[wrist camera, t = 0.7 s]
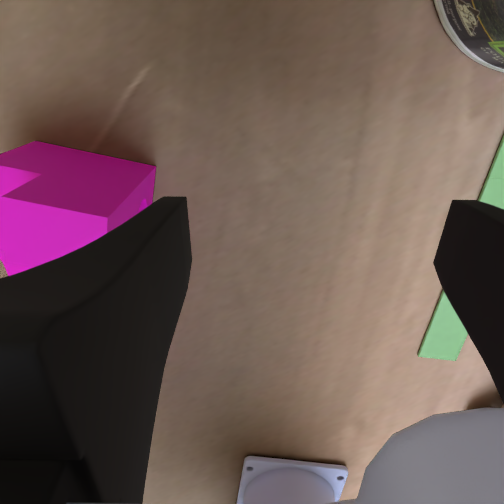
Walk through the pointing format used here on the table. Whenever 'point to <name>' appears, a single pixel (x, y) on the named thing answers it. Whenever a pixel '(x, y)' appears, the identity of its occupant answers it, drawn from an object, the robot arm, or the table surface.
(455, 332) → the tape bay
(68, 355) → the robot arm
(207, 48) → the table surface
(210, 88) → the table surface
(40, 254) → the toy block
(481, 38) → the coffee can
